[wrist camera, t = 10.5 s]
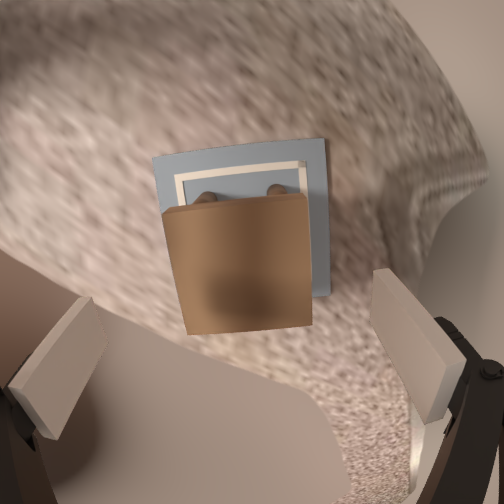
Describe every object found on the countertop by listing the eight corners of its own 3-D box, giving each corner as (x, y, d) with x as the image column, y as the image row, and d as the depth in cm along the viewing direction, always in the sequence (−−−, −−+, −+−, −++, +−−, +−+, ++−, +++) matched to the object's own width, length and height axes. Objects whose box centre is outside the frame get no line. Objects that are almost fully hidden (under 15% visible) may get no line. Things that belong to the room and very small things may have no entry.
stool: (206, 277, 28) (187, 335, 20) (191, 188, 25) (161, 214, 17) (296, 269, 28) (312, 325, 19) (289, 177, 25) (307, 198, 17)
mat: (181, 306, 30) (180, 309, 29) (153, 157, 25) (151, 158, 24) (329, 293, 29) (330, 295, 29) (323, 138, 24) (324, 138, 24)
